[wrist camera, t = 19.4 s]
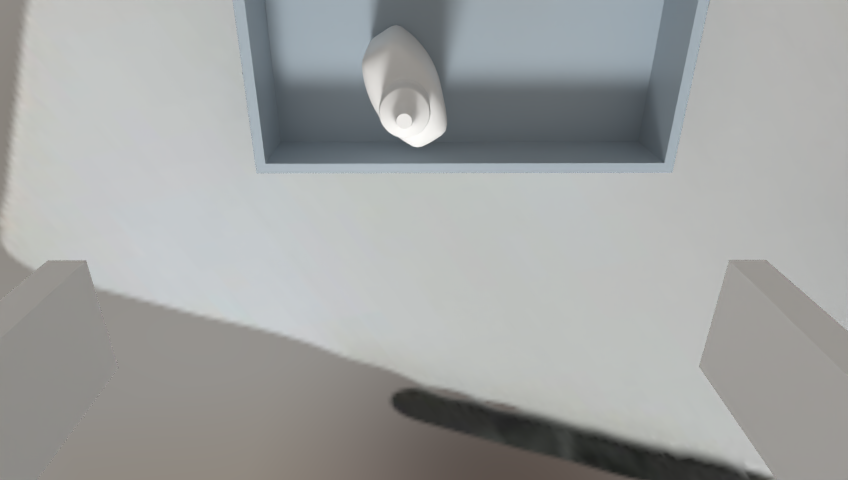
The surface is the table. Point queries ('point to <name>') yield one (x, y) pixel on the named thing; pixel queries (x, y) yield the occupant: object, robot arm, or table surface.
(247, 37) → the tray
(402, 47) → the eye dropper bottle
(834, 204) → the table surface
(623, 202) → the table surface
